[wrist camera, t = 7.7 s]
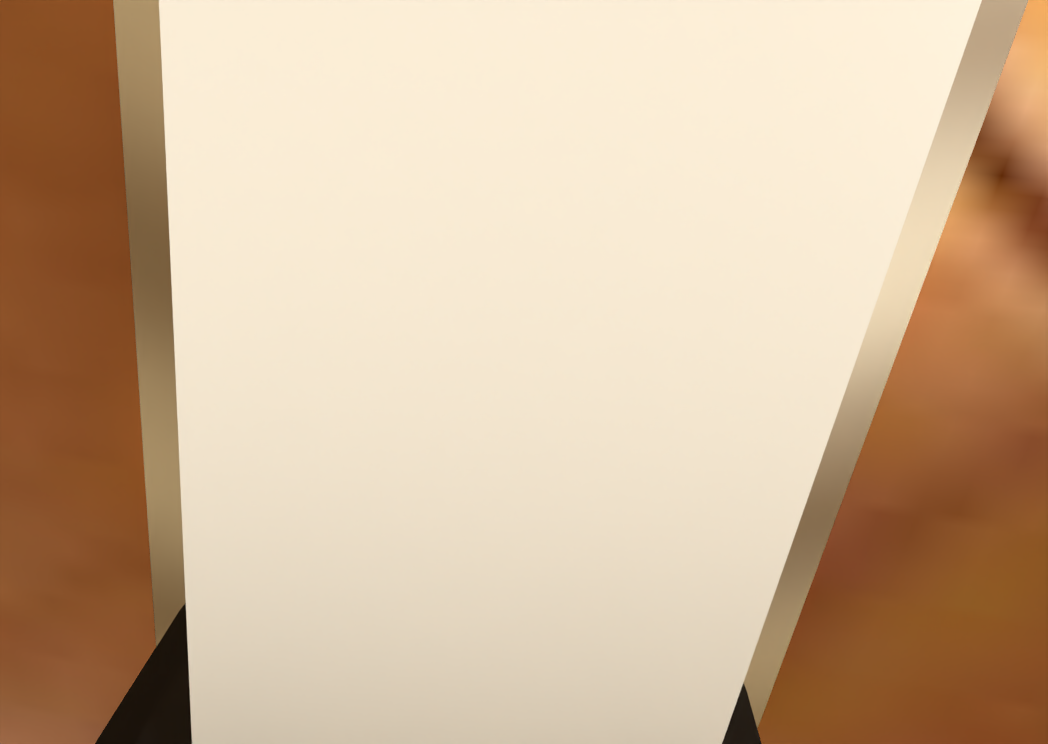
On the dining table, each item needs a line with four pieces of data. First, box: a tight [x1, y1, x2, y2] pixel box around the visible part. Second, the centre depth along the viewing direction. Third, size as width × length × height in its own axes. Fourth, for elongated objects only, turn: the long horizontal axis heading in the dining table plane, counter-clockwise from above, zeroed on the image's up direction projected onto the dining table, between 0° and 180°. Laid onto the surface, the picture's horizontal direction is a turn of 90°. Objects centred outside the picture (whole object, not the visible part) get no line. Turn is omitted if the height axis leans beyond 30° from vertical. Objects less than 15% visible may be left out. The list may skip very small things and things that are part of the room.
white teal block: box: [159, 0, 982, 744], centre depth 9 cm, size 15×4×7 cm, turn 172°
